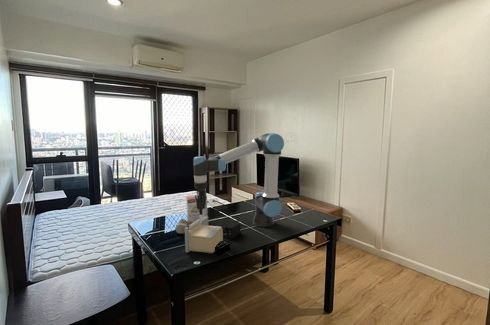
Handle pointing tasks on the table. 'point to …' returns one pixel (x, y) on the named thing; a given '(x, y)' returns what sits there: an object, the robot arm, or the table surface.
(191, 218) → the cracker box
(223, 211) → the table surface
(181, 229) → the ceramic sculpture
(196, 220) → the bar
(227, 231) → the digital camera
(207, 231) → the lid
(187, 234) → the carton
